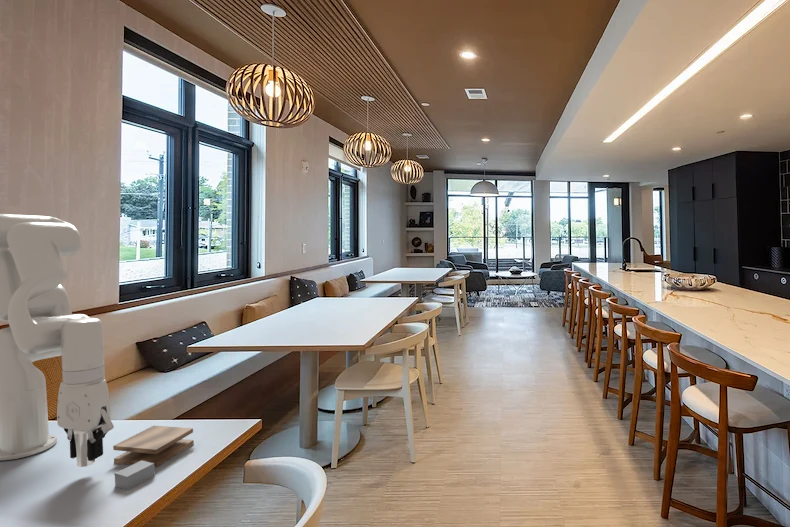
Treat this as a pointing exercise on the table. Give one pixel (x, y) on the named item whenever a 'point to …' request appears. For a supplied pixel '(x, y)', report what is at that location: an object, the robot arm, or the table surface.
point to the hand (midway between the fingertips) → (86, 455)
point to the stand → (154, 445)
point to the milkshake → (82, 448)
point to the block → (134, 475)
